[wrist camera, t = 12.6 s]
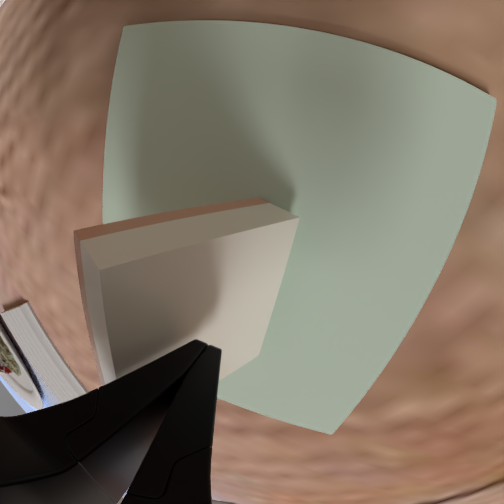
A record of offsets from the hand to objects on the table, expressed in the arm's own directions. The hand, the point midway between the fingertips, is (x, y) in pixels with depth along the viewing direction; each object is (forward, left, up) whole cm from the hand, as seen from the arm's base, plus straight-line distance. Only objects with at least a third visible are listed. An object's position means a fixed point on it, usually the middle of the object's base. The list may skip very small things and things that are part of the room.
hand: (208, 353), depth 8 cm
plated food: (+43, +32, -6) cm, 54 cm away
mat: (+1, 0, -6) cm, 6 cm away
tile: (0, 0, -5) cm, 5 cm away
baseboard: (+16, +28, -7) cm, 33 cm away
